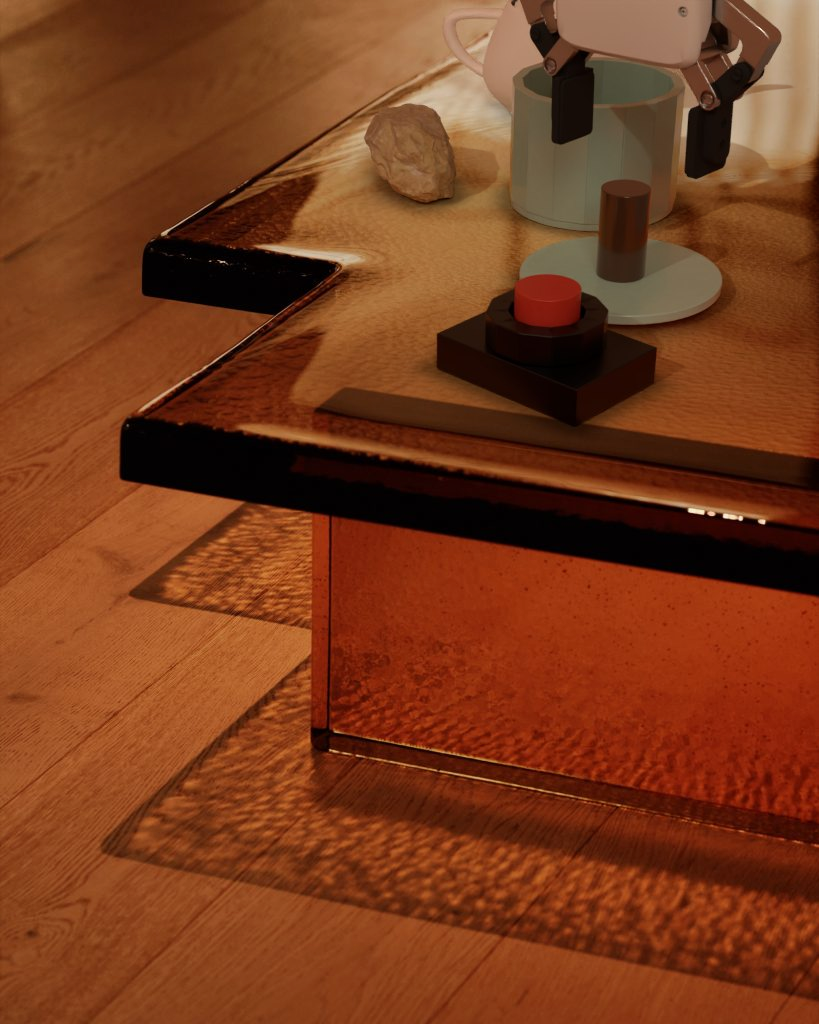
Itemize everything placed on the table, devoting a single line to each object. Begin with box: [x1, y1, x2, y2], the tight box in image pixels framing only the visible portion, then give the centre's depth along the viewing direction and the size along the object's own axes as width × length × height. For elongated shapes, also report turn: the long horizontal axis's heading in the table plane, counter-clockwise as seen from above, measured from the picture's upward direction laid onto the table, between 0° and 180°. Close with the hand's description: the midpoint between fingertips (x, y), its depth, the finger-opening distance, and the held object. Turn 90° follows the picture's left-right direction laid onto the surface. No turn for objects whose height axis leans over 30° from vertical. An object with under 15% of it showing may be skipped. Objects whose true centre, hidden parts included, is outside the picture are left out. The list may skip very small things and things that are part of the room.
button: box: [514, 274, 582, 327], centre depth 87 cm, size 4×4×2 cm
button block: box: [436, 288, 658, 427], centre depth 88 cm, size 10×7×4 cm
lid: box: [518, 179, 723, 326], centre depth 97 cm, size 12×12×7 cm
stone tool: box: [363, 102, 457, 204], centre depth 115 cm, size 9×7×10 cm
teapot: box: [442, 0, 678, 114], centre depth 127 cm, size 22×14×11 cm, turn 78°
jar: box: [508, 57, 686, 232], centre depth 110 cm, size 11×11×8 cm
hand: (636, 155), depth 94 cm, fingers open, 9 cm apart
